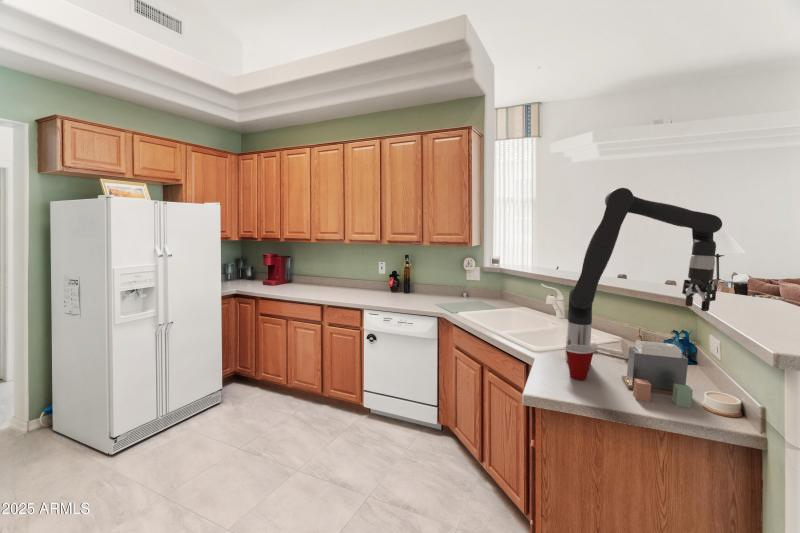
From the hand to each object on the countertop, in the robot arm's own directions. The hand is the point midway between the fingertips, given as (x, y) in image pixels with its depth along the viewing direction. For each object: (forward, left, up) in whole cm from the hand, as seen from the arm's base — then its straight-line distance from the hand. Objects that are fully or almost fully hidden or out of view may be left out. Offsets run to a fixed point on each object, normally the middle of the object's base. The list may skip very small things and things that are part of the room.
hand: (696, 308), depth 145 cm
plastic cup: (-43, -19, -27) cm, 54 cm away
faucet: (-26, +16, -28) cm, 41 cm away
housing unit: (-17, -19, -27) cm, 37 cm away
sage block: (-13, -31, -27) cm, 43 cm away
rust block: (-24, -31, -27) cm, 48 cm away
